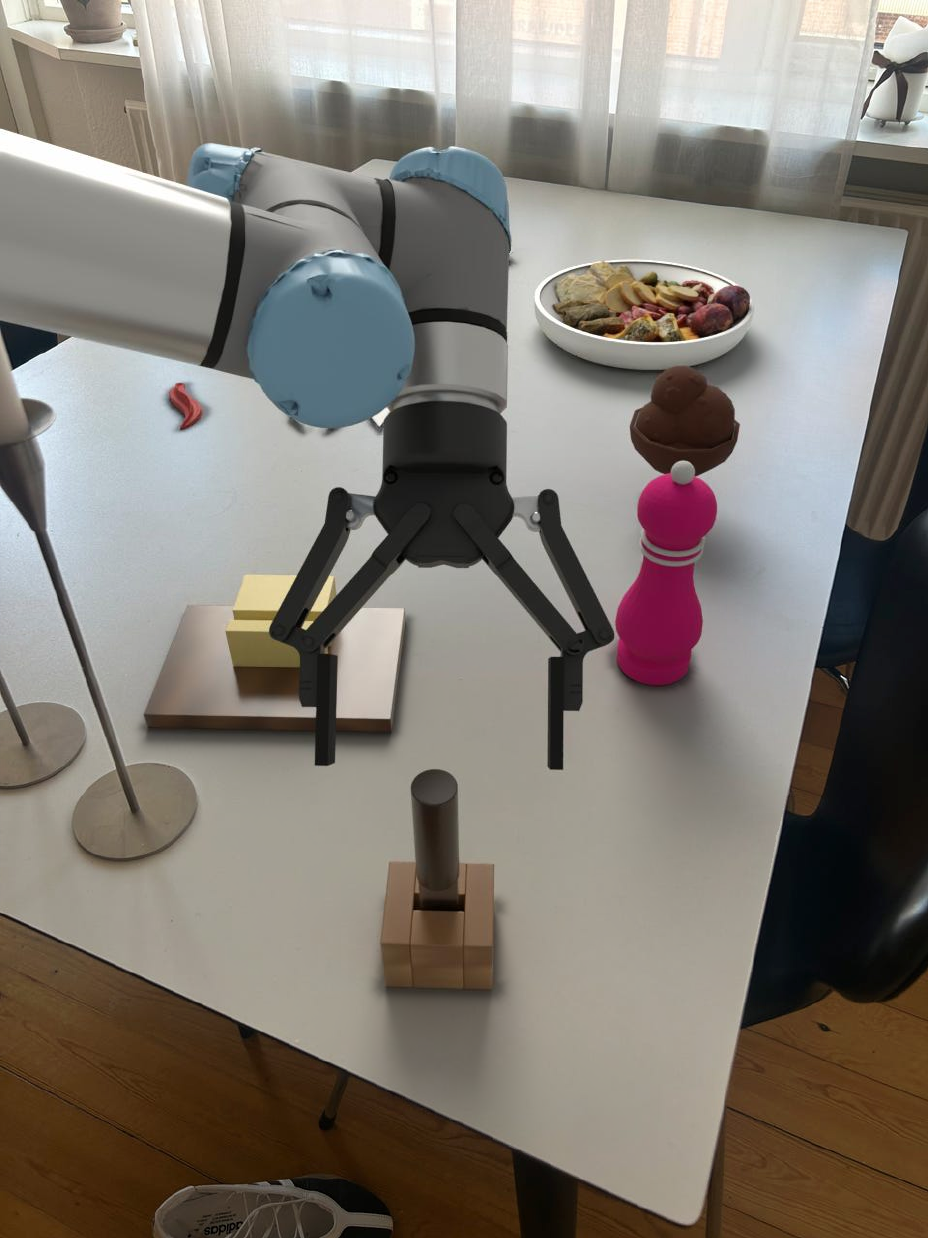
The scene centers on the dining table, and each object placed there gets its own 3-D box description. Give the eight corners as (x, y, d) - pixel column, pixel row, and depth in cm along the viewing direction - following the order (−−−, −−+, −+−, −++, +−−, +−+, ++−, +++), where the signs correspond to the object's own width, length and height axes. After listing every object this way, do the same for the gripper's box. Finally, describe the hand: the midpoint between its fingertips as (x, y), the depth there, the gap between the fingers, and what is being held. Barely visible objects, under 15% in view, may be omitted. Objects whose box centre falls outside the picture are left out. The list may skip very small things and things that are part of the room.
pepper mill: (593, 656, 85) (614, 458, 72) (651, 623, 88) (681, 428, 75) (653, 702, 80) (687, 500, 67) (712, 666, 84) (755, 466, 71)
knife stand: (384, 987, 61) (379, 944, 58) (393, 905, 66) (389, 860, 63) (492, 990, 61) (493, 947, 58) (493, 907, 66) (494, 863, 62)
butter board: (147, 727, 79) (143, 714, 78) (190, 617, 89) (187, 604, 88) (391, 732, 78) (390, 719, 77) (405, 620, 89) (404, 608, 88)
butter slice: (232, 666, 82) (224, 631, 79) (236, 654, 83) (228, 619, 80) (326, 668, 82) (321, 632, 79) (328, 656, 83) (324, 620, 80)
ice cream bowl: (614, 524, 100) (629, 392, 91) (631, 470, 108) (646, 343, 99) (718, 541, 98) (744, 406, 88) (727, 484, 106) (752, 355, 96)
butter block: (239, 645, 84) (232, 610, 81) (251, 609, 88) (244, 574, 85) (330, 647, 84) (326, 611, 81) (338, 610, 88) (334, 575, 85)
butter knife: (419, 963, 62) (408, 804, 52) (422, 928, 64) (412, 768, 54) (460, 964, 62) (456, 805, 52) (461, 929, 64) (458, 769, 54)
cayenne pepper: (199, 428, 117) (196, 413, 115) (160, 430, 116) (157, 416, 115) (209, 383, 126) (206, 369, 125) (173, 385, 125) (170, 371, 124)
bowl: (514, 368, 128) (516, 310, 123) (552, 284, 151) (554, 233, 146) (745, 391, 123) (757, 332, 118) (749, 300, 145) (759, 247, 140)
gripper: (641, 432, 62) (642, 765, 60) (257, 430, 63) (246, 759, 61) (662, 396, 55) (663, 774, 53) (225, 393, 55) (211, 767, 54)
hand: (439, 767), depth 57 cm, fingers open, 13 cm apart
